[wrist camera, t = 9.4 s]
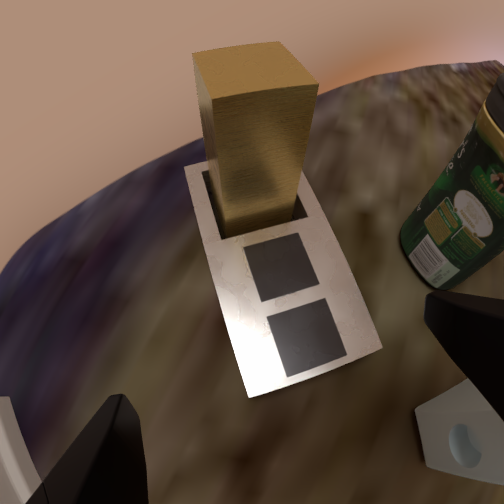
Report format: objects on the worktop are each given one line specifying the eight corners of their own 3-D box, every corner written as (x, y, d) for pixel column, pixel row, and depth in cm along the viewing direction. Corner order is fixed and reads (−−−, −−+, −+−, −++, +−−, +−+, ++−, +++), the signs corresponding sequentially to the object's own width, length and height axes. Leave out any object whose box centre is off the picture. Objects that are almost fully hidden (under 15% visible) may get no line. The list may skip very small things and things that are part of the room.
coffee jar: (440, 195, 27) (529, 56, 10) (485, 255, 24) (603, 137, 7) (381, 234, 25) (492, 49, 8) (433, 307, 22) (604, 172, 5)
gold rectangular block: (288, 232, 25) (319, 83, 12) (228, 248, 24) (211, 99, 12) (267, 185, 27) (279, 41, 14) (212, 199, 26) (192, 53, 14)
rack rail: (366, 354, 21) (383, 347, 18) (249, 396, 19) (249, 398, 16) (284, 166, 28) (287, 143, 25) (189, 188, 27) (183, 166, 24)
